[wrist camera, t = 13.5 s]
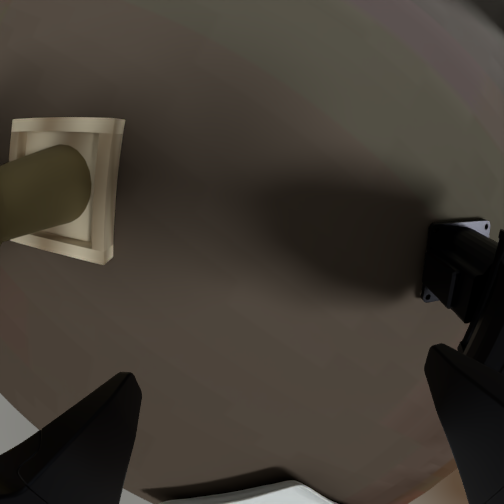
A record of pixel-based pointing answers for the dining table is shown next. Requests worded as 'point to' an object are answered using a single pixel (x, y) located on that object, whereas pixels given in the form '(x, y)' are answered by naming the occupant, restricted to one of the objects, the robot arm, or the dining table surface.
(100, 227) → the holder
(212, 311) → the dining table surface
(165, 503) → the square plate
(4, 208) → the olive green cylinder
